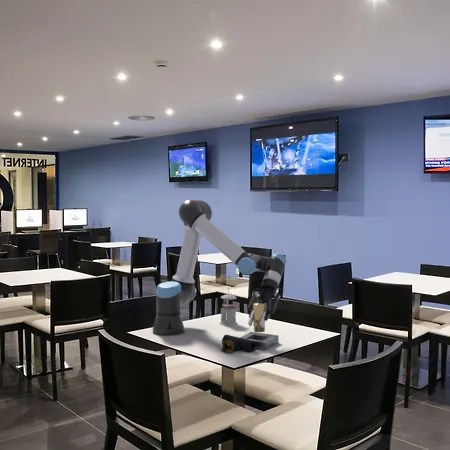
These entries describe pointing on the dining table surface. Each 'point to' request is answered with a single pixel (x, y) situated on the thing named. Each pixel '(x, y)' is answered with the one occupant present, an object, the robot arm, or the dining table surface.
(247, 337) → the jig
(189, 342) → the dining table surface
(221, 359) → the dining table surface
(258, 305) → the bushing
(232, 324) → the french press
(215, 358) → the dining table surface
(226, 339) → the pipe connector
